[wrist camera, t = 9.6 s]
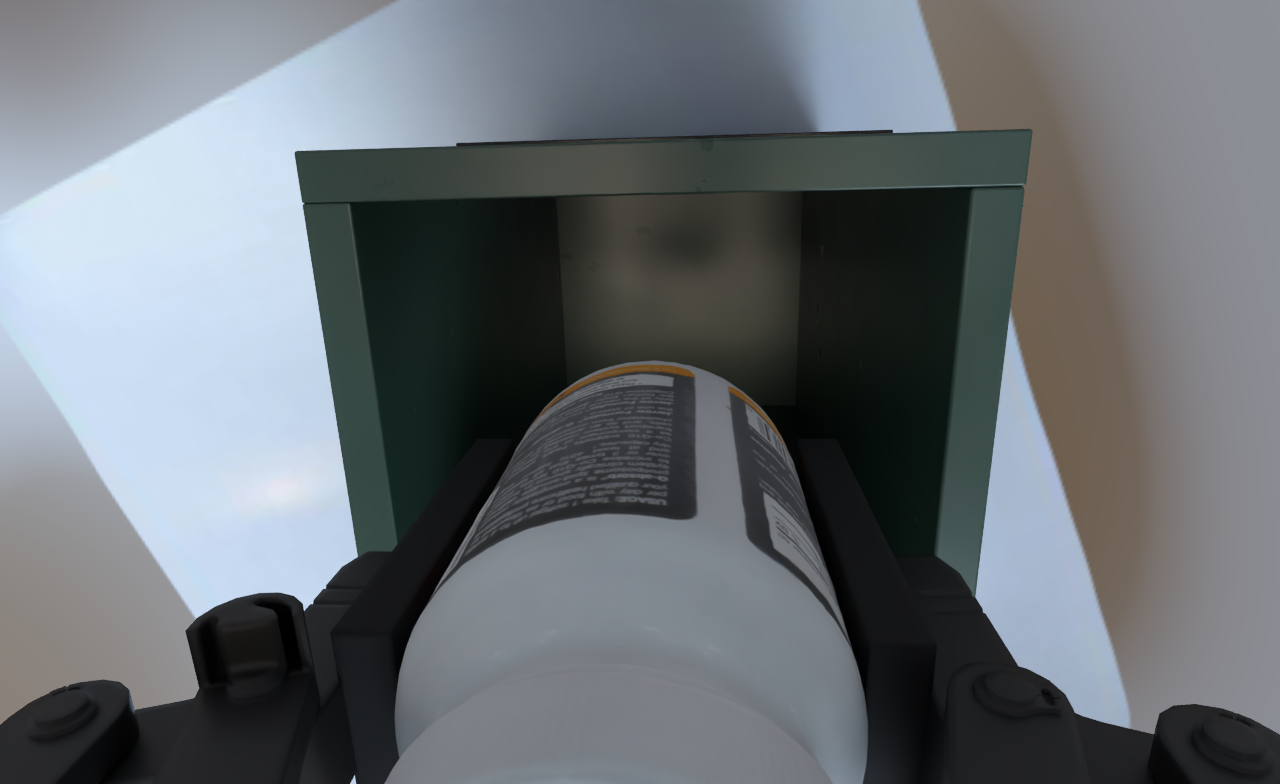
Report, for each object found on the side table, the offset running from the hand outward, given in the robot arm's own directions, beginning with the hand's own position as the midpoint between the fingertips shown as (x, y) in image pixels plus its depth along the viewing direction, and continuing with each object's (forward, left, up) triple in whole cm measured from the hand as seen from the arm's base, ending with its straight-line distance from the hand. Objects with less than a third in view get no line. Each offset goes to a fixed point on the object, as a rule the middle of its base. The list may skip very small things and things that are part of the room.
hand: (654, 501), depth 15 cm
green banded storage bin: (0, 0, -25) cm, 25 cm away
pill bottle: (0, 0, 0) cm, 0 cm away
